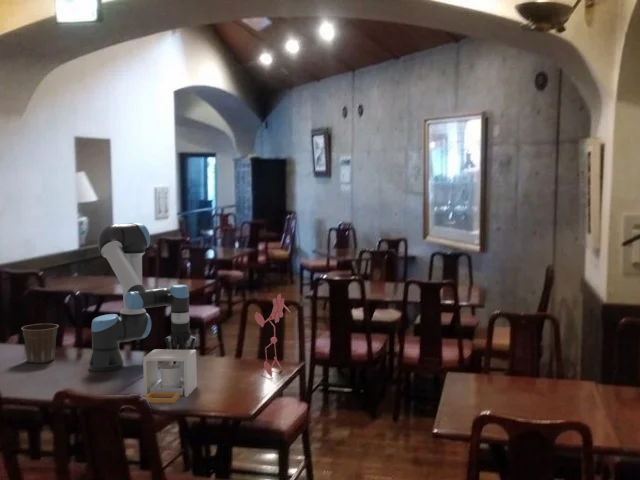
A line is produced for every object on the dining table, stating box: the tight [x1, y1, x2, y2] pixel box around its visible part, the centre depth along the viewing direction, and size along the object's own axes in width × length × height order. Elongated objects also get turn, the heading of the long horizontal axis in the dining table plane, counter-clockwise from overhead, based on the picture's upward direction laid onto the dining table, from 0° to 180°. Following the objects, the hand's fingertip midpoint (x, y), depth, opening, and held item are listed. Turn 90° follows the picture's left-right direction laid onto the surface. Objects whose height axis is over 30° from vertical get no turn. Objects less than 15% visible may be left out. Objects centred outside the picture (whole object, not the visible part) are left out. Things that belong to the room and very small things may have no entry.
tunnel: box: [142, 348, 198, 398], centre depth 283 cm, size 14×17×15 cm
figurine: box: [252, 293, 296, 379], centre depth 306 cm, size 15×26×35 cm, turn 158°
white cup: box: [159, 363, 181, 388], centre depth 284 cm, size 8×8×10 cm
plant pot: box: [20, 323, 60, 364], centre depth 334 cm, size 16×16×16 cm
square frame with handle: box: [150, 361, 185, 396], centre depth 289 cm, size 24×13×9 cm, turn 175°
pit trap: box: [144, 392, 181, 405], centre depth 272 cm, size 8×12×2 cm, turn 85°
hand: (181, 376), depth 299 cm, fingers closed on square frame with handle, 2 cm apart
